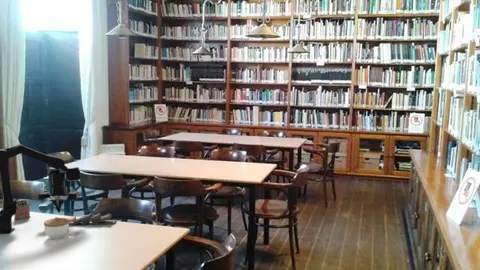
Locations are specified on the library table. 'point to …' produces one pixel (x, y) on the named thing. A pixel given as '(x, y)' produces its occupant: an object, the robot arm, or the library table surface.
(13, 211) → the robot arm
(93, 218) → the domino
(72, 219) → the domino
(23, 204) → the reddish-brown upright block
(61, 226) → the lidded jar
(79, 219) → the domino
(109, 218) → the domino
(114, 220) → the domino
